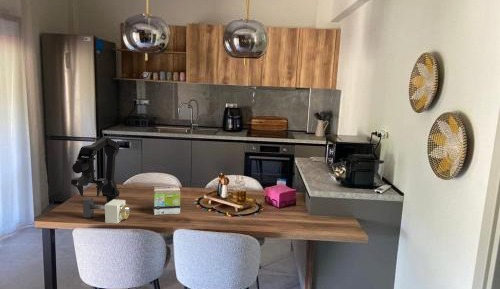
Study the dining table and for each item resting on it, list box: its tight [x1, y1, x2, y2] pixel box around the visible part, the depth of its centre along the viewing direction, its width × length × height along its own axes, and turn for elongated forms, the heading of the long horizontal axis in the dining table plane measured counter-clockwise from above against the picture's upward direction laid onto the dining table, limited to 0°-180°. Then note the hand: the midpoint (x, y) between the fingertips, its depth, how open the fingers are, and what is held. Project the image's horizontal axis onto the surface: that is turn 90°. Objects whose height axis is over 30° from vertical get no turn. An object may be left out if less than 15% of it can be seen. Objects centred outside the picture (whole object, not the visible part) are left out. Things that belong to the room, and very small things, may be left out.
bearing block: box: [104, 198, 127, 224], centre depth 212 cm, size 10×7×10 cm
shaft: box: [82, 197, 131, 218], centre depth 213 cm, size 4×26×10 cm, turn 82°
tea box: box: [153, 185, 181, 216], centre depth 227 cm, size 15×10×15 cm
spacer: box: [122, 203, 131, 220], centre depth 211 cm, size 7×1×7 cm, turn 173°
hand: (90, 196), depth 213 cm, fingers open, 9 cm apart
